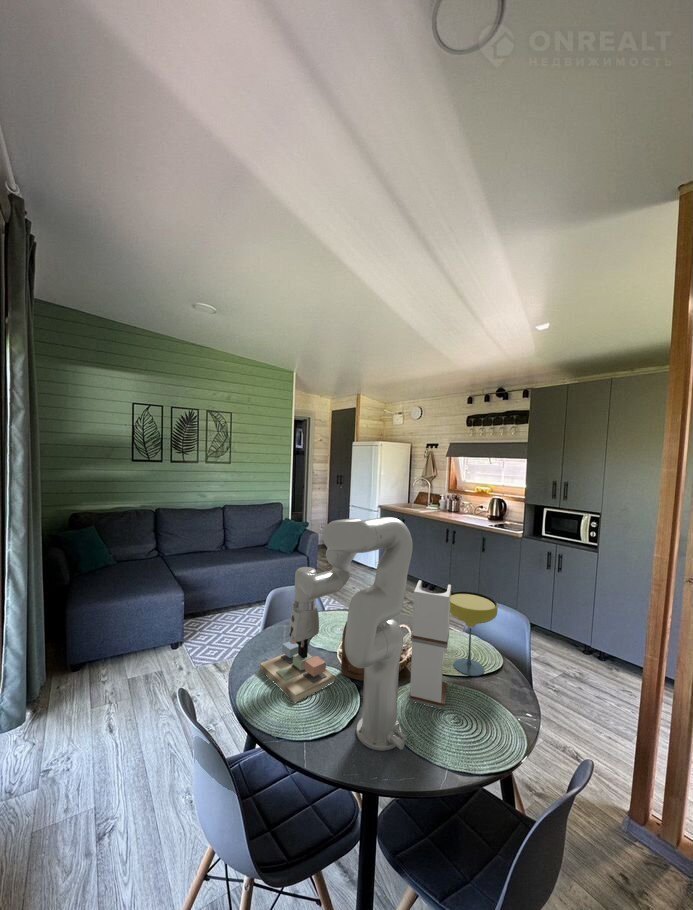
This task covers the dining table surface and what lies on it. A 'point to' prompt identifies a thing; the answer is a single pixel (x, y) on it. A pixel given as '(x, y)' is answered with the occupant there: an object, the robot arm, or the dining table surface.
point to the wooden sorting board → (294, 677)
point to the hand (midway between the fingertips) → (302, 655)
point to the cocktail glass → (471, 622)
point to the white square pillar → (429, 646)
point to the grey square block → (289, 649)
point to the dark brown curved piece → (346, 665)
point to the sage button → (300, 661)
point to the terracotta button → (315, 666)
